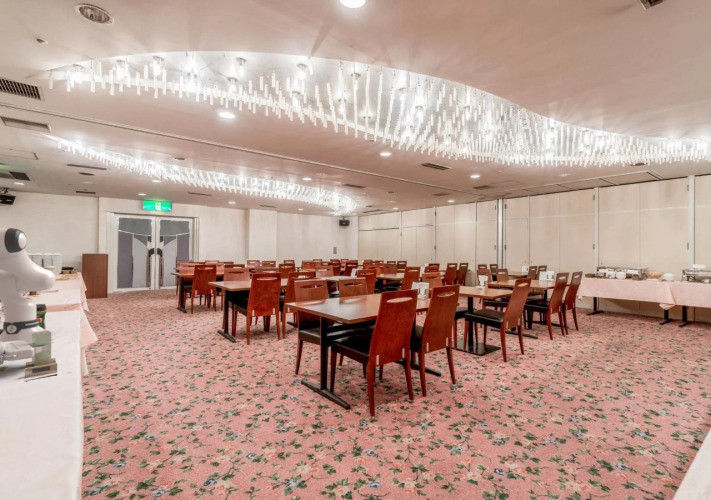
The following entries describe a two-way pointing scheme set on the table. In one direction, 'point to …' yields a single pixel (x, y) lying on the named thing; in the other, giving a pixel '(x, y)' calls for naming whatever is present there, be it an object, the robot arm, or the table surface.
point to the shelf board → (40, 369)
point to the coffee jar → (41, 314)
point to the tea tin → (37, 341)
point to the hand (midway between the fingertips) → (44, 345)
